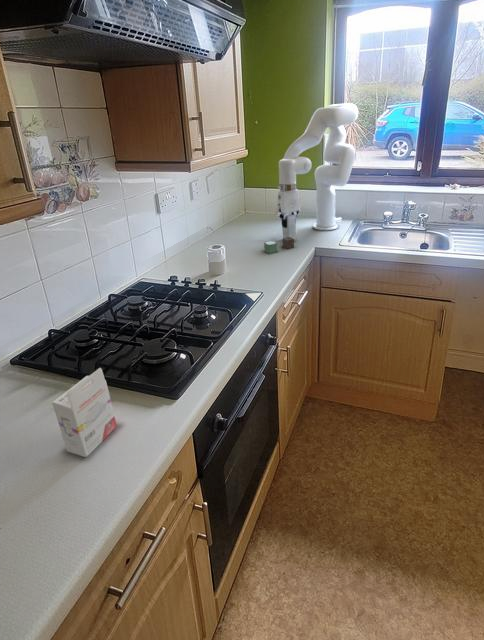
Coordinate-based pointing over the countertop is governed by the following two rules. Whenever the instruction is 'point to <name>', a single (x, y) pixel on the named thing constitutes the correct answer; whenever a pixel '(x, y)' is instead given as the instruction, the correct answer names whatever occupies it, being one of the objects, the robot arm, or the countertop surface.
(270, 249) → the sage block
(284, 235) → the cosmetic box
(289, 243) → the walnut block
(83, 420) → the ink cartridge box
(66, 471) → the countertop surface
